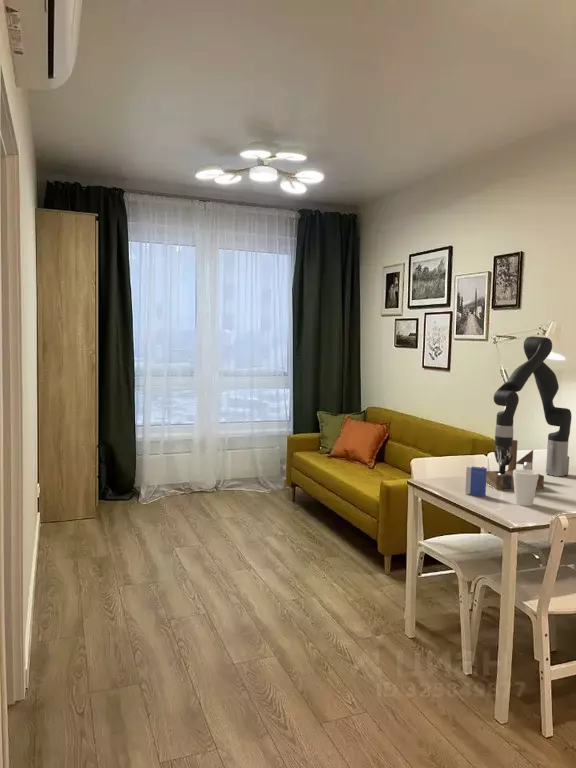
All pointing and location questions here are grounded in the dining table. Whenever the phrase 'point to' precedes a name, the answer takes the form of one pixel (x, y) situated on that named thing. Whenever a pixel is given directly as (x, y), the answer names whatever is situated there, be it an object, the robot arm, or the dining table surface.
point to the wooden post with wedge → (514, 457)
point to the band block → (507, 480)
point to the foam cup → (525, 486)
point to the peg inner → (527, 465)
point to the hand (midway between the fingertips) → (502, 473)
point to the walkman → (476, 480)
